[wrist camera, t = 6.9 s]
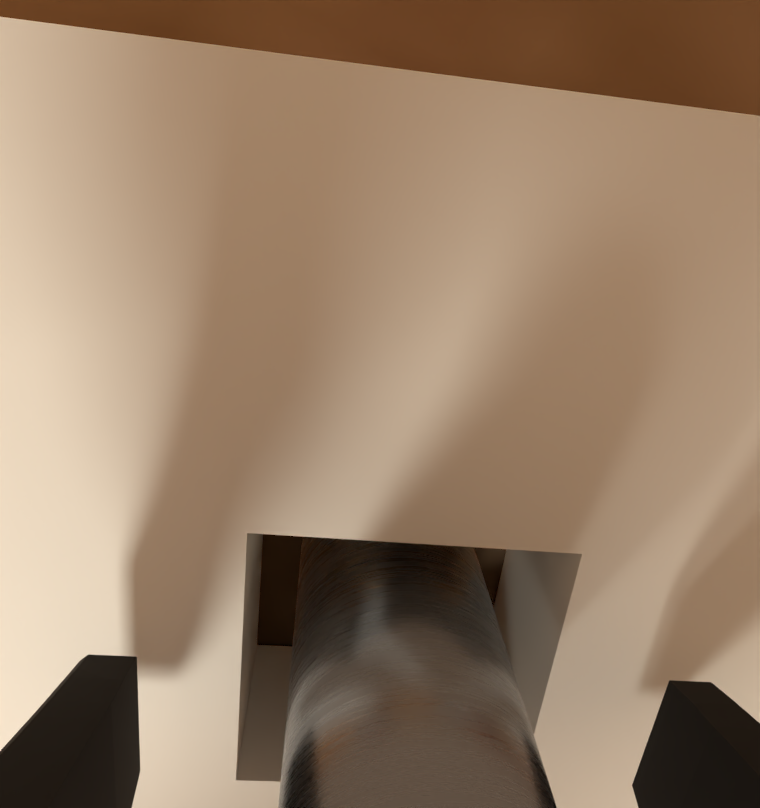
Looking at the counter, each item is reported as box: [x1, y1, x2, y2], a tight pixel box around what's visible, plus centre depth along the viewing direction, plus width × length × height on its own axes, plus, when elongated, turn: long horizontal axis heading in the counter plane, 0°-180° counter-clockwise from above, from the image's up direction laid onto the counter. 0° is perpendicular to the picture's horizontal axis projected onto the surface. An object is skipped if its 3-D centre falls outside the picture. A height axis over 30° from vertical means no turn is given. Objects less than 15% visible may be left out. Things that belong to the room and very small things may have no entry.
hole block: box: [0, 17, 760, 808], centre depth 11 cm, size 16×16×3 cm
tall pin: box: [278, 537, 557, 808], centre depth 9 cm, size 3×3×8 cm
